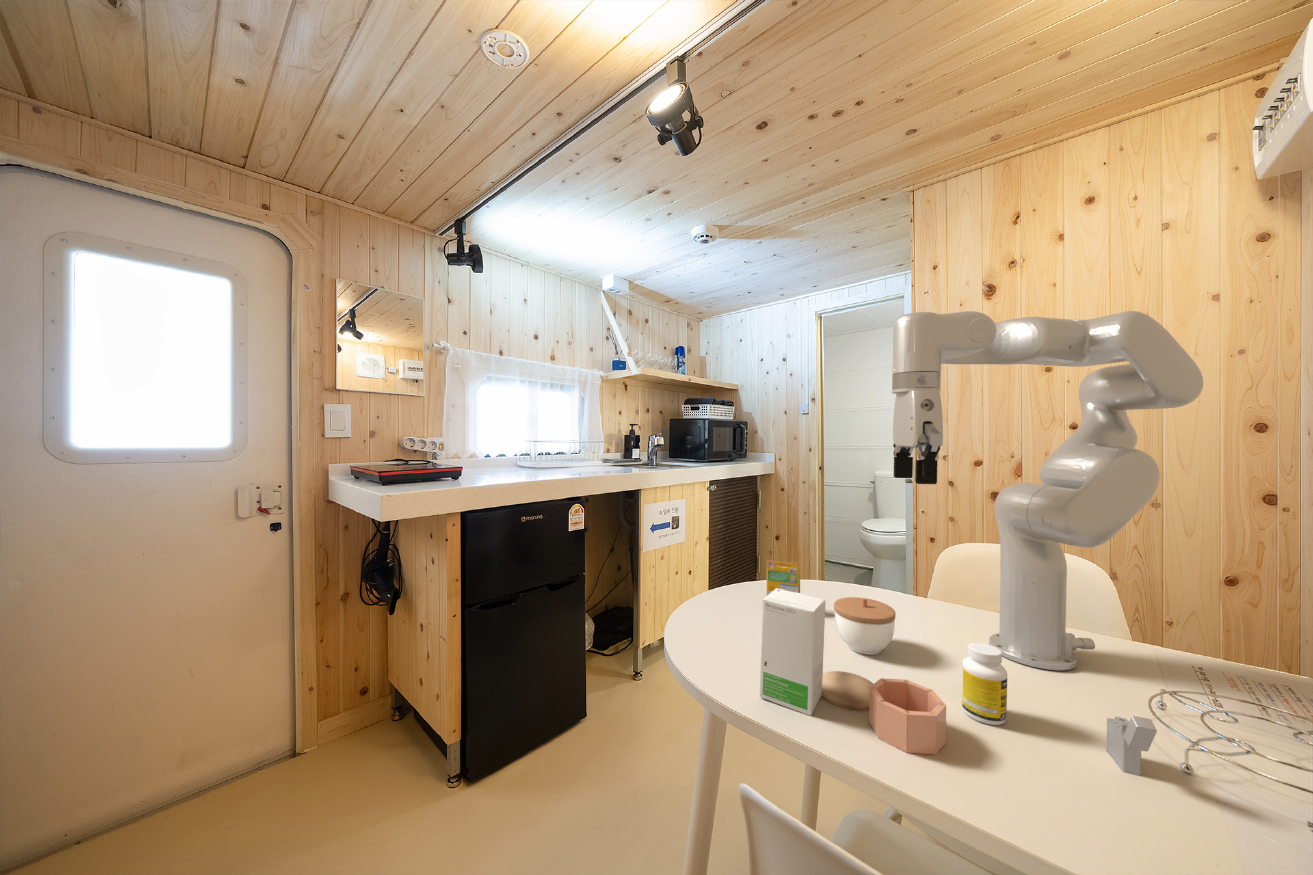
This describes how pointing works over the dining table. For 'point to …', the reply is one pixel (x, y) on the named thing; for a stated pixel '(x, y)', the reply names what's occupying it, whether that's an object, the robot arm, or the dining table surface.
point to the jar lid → (846, 690)
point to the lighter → (1129, 741)
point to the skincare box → (792, 650)
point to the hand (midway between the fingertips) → (913, 480)
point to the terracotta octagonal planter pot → (907, 716)
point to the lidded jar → (864, 624)
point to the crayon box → (783, 576)
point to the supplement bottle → (984, 684)
